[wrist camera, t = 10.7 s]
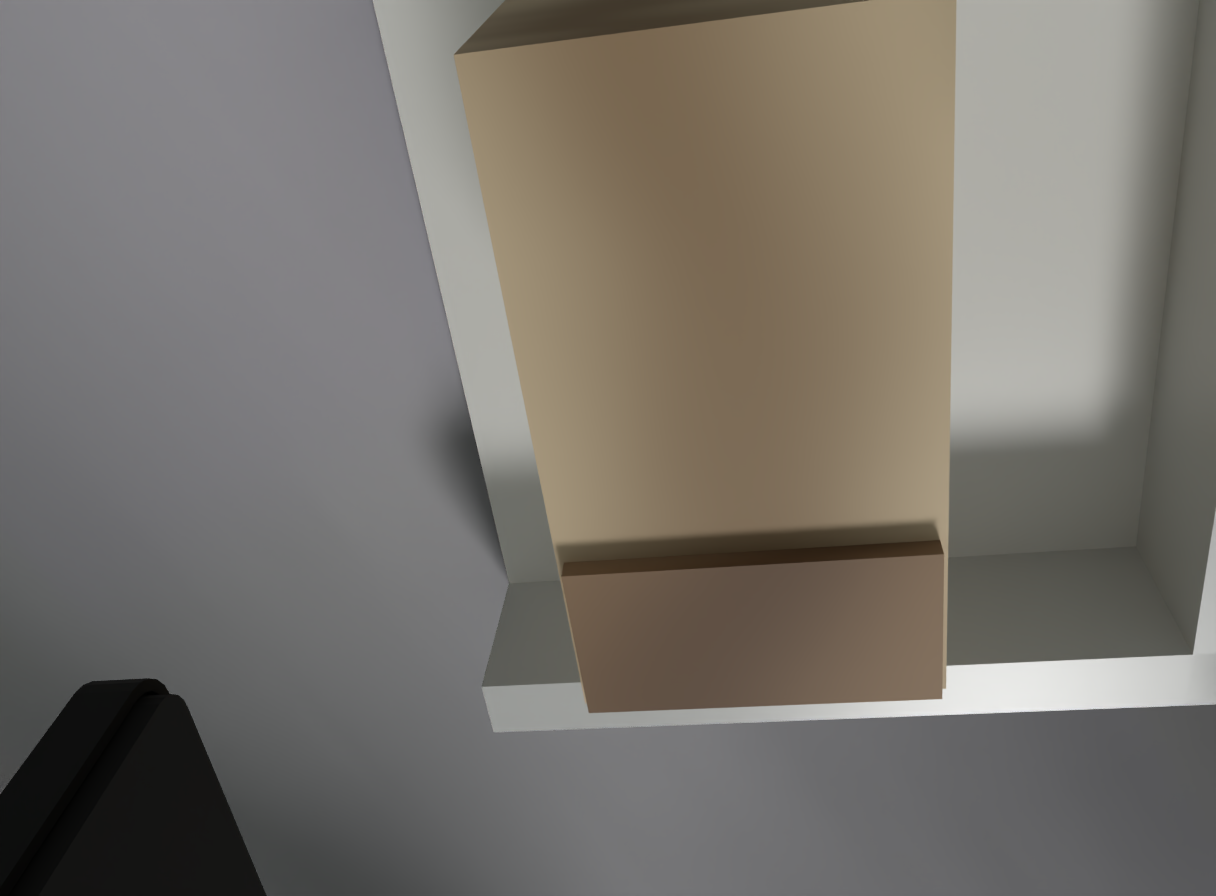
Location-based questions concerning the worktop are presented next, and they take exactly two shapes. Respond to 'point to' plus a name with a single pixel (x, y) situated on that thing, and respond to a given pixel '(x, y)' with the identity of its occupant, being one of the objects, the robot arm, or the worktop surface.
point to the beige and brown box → (731, 334)
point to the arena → (954, 366)
